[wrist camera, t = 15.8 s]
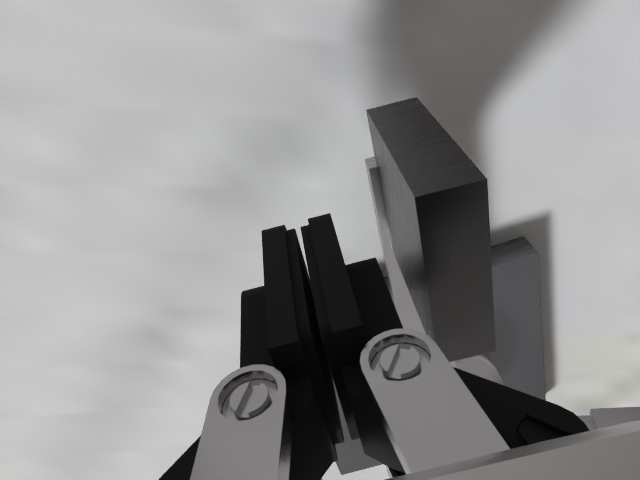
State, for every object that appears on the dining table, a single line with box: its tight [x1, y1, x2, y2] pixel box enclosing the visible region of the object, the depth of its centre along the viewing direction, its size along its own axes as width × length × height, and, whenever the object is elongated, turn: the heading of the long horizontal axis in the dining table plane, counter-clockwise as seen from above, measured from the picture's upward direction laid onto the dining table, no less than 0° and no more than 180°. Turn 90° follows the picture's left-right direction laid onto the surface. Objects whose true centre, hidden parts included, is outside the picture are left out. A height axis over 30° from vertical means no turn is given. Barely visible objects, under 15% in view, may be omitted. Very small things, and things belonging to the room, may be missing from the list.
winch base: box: [333, 237, 546, 475], centre depth 20 cm, size 9×9×1 cm
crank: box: [365, 97, 504, 385], centre depth 15 cm, size 14×5×6 cm, turn 13°
